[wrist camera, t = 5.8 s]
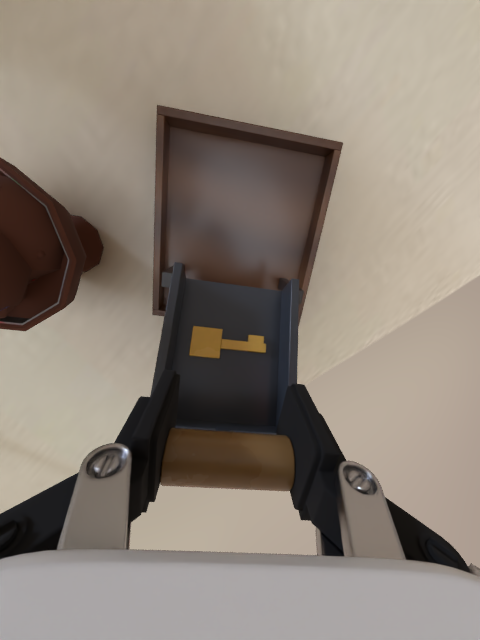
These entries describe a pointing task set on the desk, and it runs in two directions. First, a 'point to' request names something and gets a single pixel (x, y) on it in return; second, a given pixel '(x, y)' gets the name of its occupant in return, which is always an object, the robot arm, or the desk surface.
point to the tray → (237, 202)
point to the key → (221, 343)
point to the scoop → (229, 385)
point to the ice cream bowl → (39, 251)
